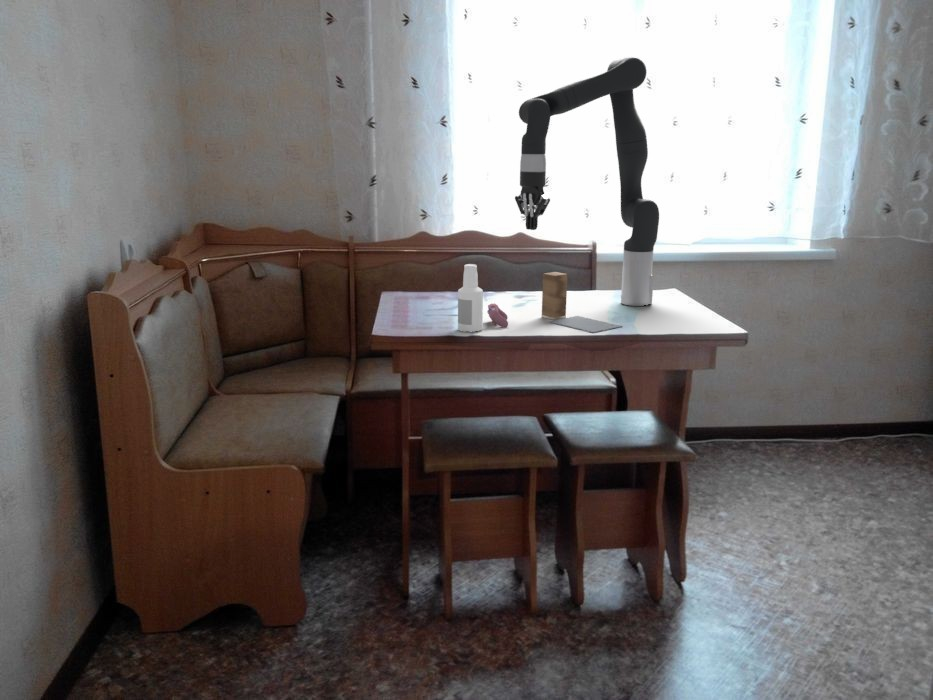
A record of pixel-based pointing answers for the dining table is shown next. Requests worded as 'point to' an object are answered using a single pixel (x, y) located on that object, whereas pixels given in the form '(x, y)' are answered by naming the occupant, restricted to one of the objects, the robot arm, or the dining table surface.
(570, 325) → the rubber mat
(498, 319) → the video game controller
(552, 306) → the walnut block
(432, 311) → the dining table surface
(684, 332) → the dining table surface
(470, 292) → the spray bottle
